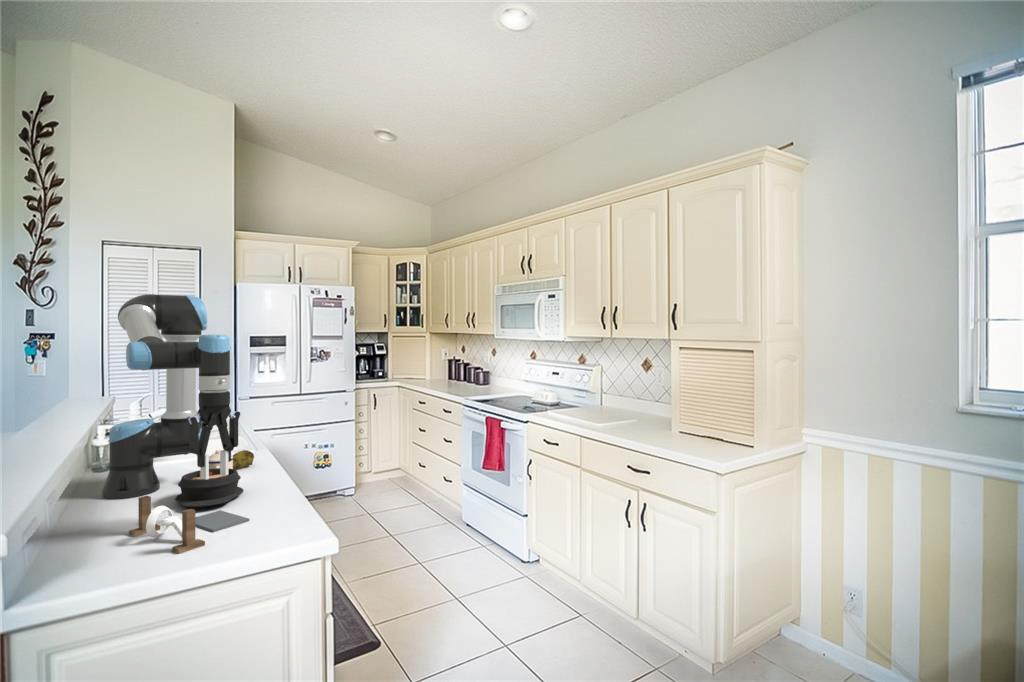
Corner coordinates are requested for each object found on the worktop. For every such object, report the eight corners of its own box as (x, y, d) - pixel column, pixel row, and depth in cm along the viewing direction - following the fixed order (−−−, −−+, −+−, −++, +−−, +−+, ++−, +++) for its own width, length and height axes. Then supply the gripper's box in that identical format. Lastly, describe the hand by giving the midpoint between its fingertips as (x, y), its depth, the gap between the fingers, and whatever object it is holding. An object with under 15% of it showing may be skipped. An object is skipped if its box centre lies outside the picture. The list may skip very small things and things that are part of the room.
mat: (184, 522, 144) (184, 520, 144) (220, 512, 153) (220, 510, 153) (213, 532, 137) (213, 529, 137) (249, 520, 146) (249, 518, 146)
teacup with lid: (205, 482, 185) (204, 449, 185) (234, 479, 189) (234, 446, 189) (201, 491, 174) (201, 455, 174) (232, 488, 178) (232, 453, 178)
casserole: (181, 493, 172) (181, 467, 172) (245, 487, 180) (245, 462, 180) (167, 517, 149) (167, 487, 149) (241, 508, 157) (241, 480, 157)
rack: (128, 534, 136) (128, 499, 136) (154, 527, 141) (154, 493, 141) (179, 553, 123) (178, 515, 123) (205, 545, 129) (204, 508, 129)
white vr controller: (158, 562, 127) (173, 540, 126) (132, 528, 131) (146, 506, 130) (186, 554, 134) (200, 532, 133) (161, 521, 138) (174, 500, 137)
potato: (216, 472, 199) (215, 451, 199) (254, 468, 205) (254, 447, 205) (214, 477, 192) (214, 455, 192) (254, 473, 198) (254, 452, 198)
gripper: (187, 394, 135) (188, 486, 135) (253, 389, 150) (253, 471, 150) (172, 393, 139) (172, 481, 139) (237, 387, 154) (237, 467, 154)
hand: (214, 476), depth 145 cm, fingers open, 5 cm apart
